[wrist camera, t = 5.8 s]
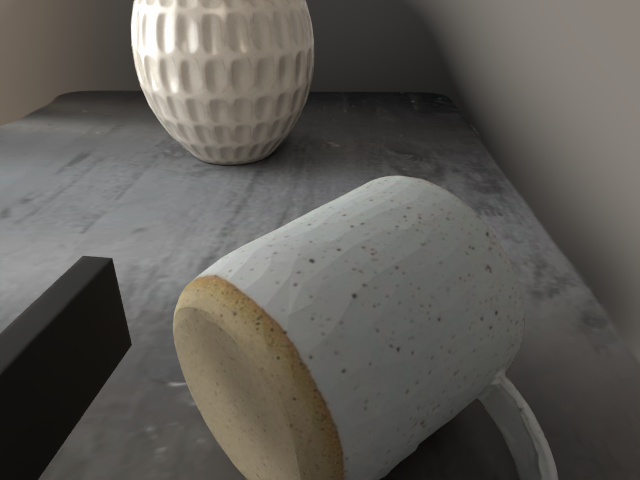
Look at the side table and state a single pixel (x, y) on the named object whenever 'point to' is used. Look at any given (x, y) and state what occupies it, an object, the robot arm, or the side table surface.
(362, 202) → the ceramic mug
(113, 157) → the side table surface
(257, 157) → the vase
